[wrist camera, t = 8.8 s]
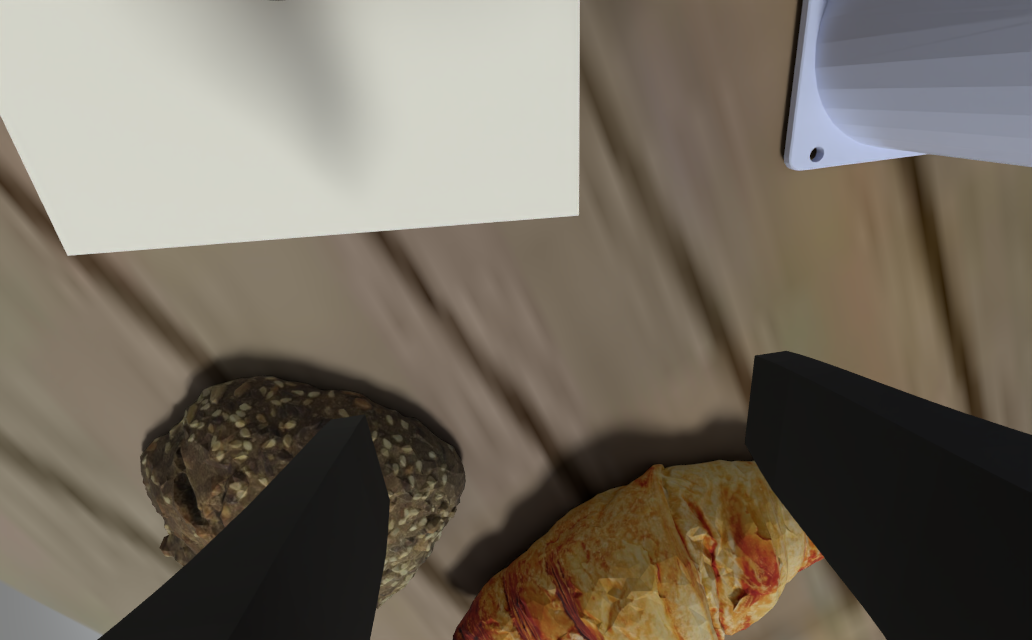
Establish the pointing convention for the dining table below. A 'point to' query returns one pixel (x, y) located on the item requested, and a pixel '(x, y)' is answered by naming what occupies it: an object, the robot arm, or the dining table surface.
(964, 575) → the robot arm
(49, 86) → the cover
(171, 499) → the bread roll
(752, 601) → the croissant
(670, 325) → the dining table surface
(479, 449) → the dining table surface
